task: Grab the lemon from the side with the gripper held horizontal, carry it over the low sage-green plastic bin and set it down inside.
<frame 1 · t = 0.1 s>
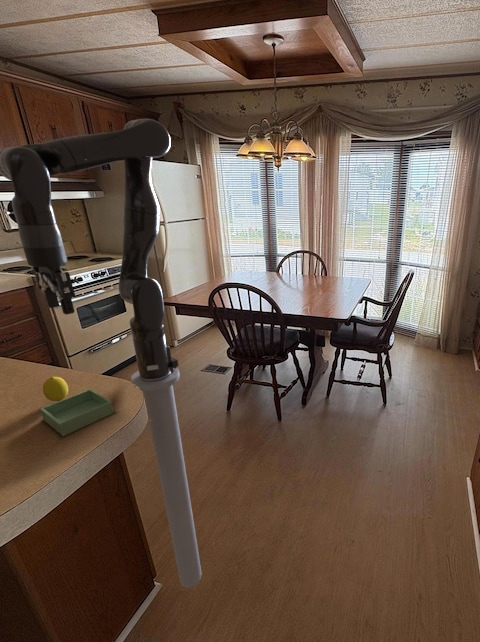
hand: (61, 310, 86), 28 cm above the table, tool pointing down, fingers open, 8 cm apart
bin: (79, 416, 91), on the table
lemon: (59, 402, 97), on the table
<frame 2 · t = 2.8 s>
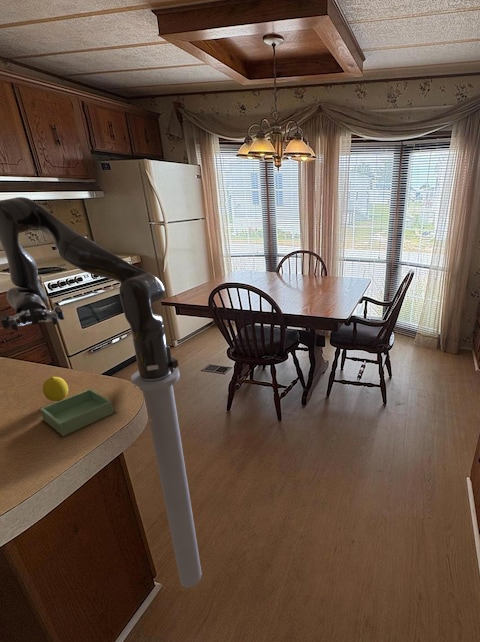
hand: (35, 324, 97), 20 cm above the table, tool horizontal, fingers open, 8 cm apart
nothing on the table moved.
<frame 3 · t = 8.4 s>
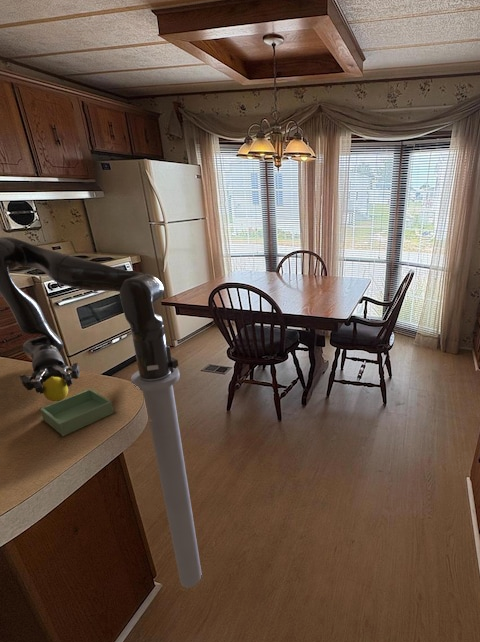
hand: (54, 386, 93), 6 cm above the table, tool horizontal, fingers closed on lemon, 5 cm apart
lemon: (59, 402, 97), on the table, touching gripper
when the fingers open (7 cm above the table, at t = 16.3 s): lemon stays where it is, resting on bin.
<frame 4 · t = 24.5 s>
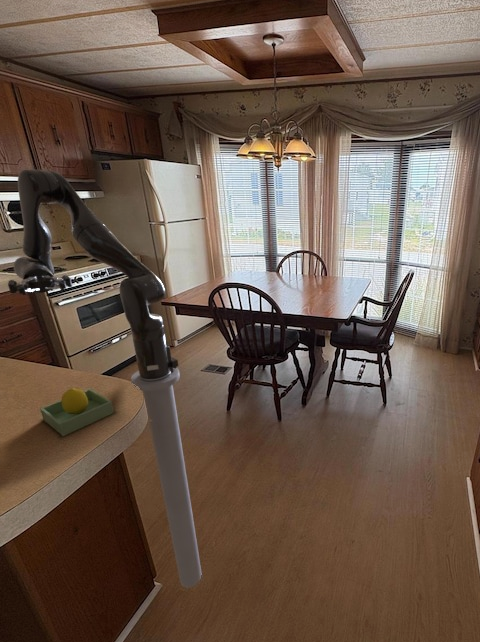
hand: (43, 289, 95), 30 cm above the table, tool horizontal, fingers open, 8 cm apart
lemon: (78, 415, 91), resting on bin
at the end: lemon inside the target area in the bin (0.1 cm from its centre), point 0.4 cm above the bin's base; the gripper is holding nothing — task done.
